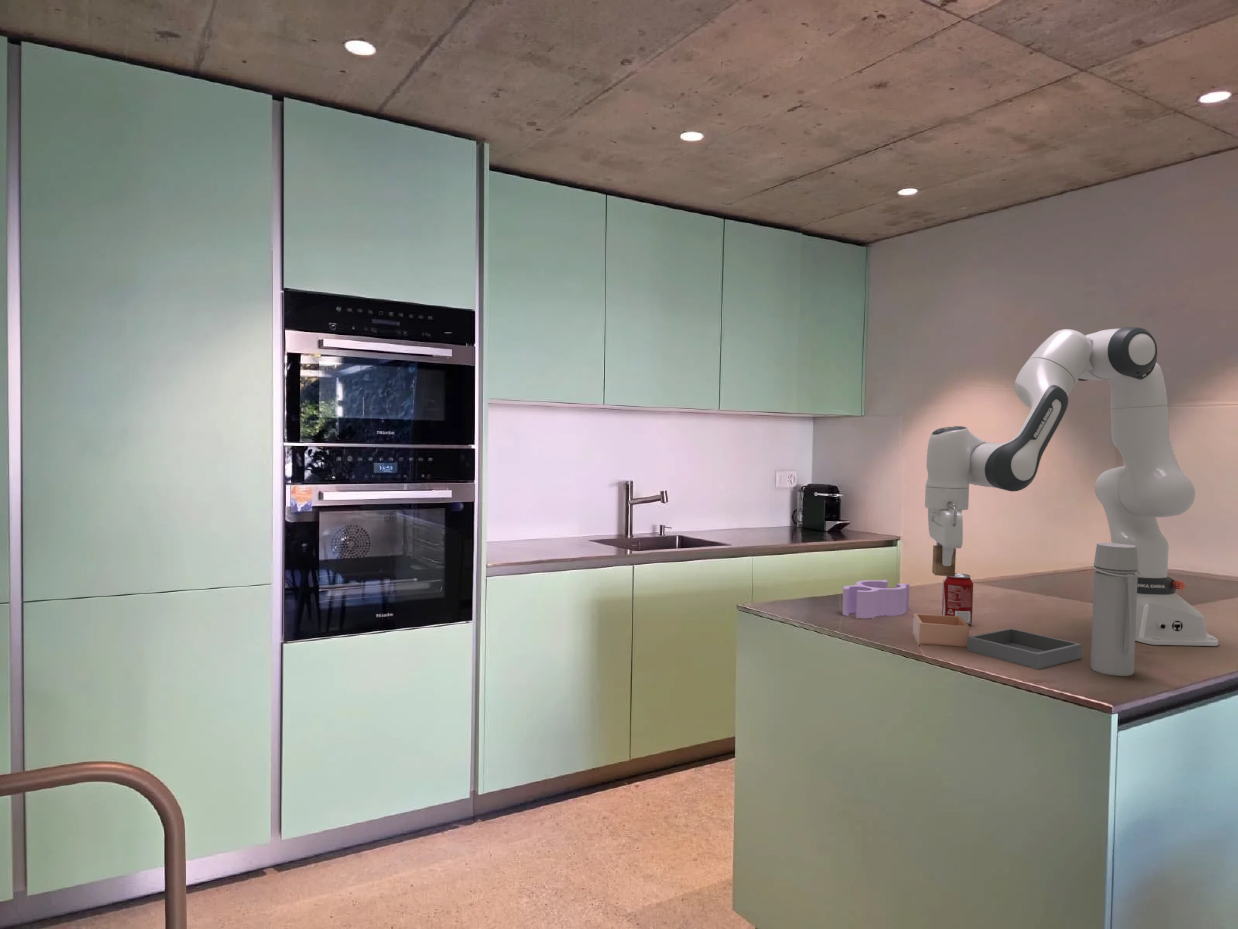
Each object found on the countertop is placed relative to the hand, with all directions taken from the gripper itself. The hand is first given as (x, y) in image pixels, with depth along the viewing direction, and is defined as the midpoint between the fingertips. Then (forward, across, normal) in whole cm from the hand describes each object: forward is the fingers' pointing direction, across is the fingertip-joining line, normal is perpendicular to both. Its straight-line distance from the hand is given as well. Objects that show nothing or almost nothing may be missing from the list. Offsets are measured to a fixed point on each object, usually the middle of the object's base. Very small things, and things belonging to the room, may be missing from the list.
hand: (944, 563), depth 177 cm
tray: (+17, -8, -15) cm, 24 cm away
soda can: (+18, +20, -7) cm, 28 cm away
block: (+2, 0, 0) cm, 2 cm away
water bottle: (+18, -17, -29) cm, 38 cm away
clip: (+18, +29, +12) cm, 36 cm away
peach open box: (+18, 0, 0) cm, 18 cm away
